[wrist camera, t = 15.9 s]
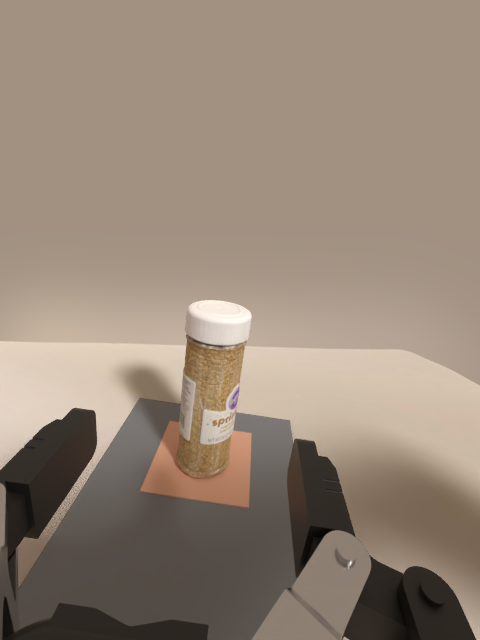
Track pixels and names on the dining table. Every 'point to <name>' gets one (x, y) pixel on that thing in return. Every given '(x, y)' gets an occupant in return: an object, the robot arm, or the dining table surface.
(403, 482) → the dining table surface
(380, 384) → the dining table surface
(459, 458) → the dining table surface
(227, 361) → the sprinkles bottle
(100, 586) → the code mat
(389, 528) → the dining table surface
